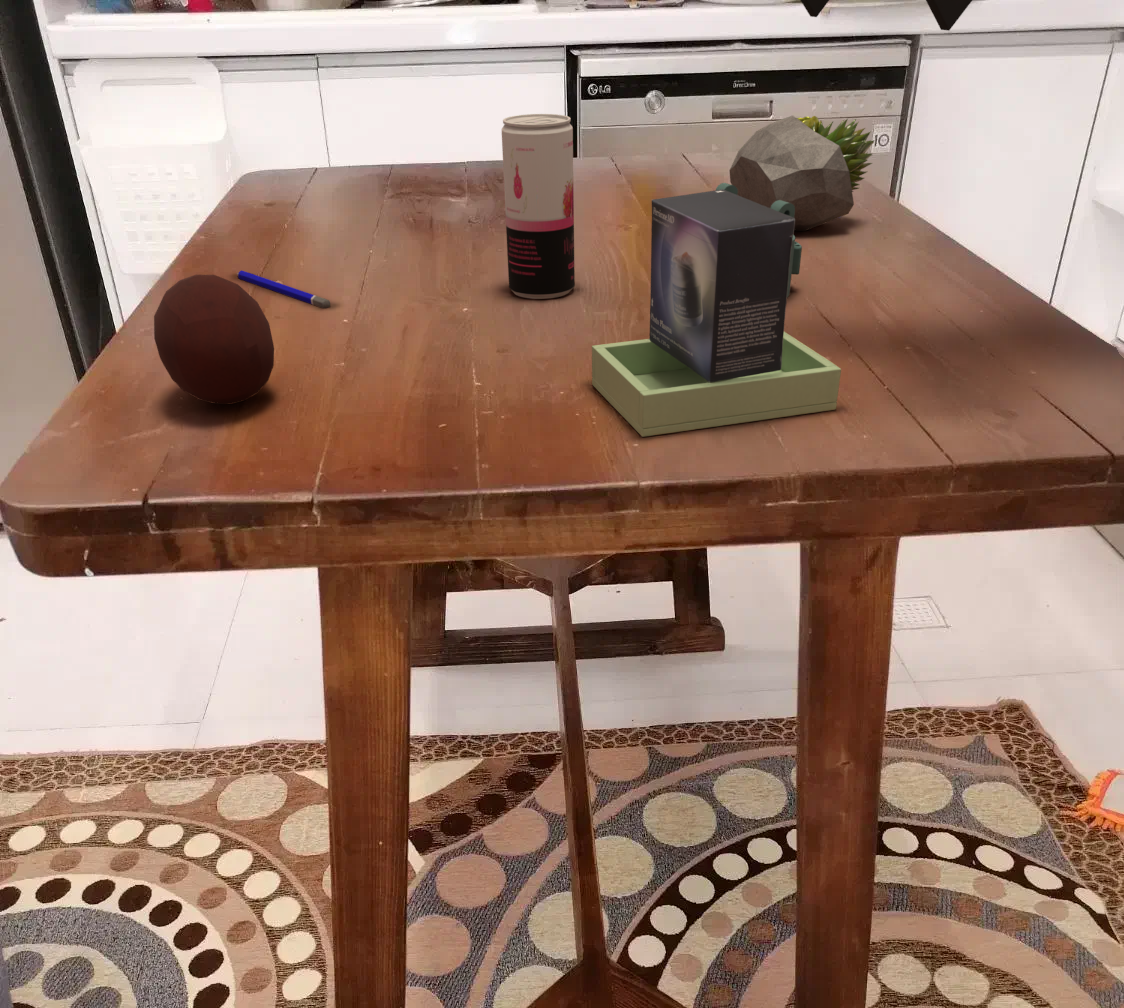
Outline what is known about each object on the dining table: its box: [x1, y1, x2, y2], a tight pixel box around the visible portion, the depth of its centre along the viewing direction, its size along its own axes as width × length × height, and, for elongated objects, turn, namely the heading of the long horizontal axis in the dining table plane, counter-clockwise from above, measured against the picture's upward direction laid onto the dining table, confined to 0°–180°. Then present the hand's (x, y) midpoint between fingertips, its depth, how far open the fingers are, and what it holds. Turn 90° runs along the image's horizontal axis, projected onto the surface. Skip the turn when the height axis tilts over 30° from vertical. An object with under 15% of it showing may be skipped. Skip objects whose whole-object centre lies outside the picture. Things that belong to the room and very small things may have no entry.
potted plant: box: [729, 115, 875, 232], centre depth 125 cm, size 12×13×15 cm
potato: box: [153, 274, 275, 405], centre depth 84 cm, size 9×12×9 cm
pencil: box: [236, 270, 332, 309], centre depth 111 cm, size 17×1×1 cm, turn 44°
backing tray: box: [591, 331, 842, 438], centre depth 84 cm, size 12×16×3 cm
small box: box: [648, 189, 795, 382], centre depth 80 cm, size 11×6×10 cm, turn 22°
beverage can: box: [501, 113, 576, 300], centre depth 105 cm, size 7×7×15 cm
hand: (865, 7), depth 74 cm, fingers open, 13 cm apart
